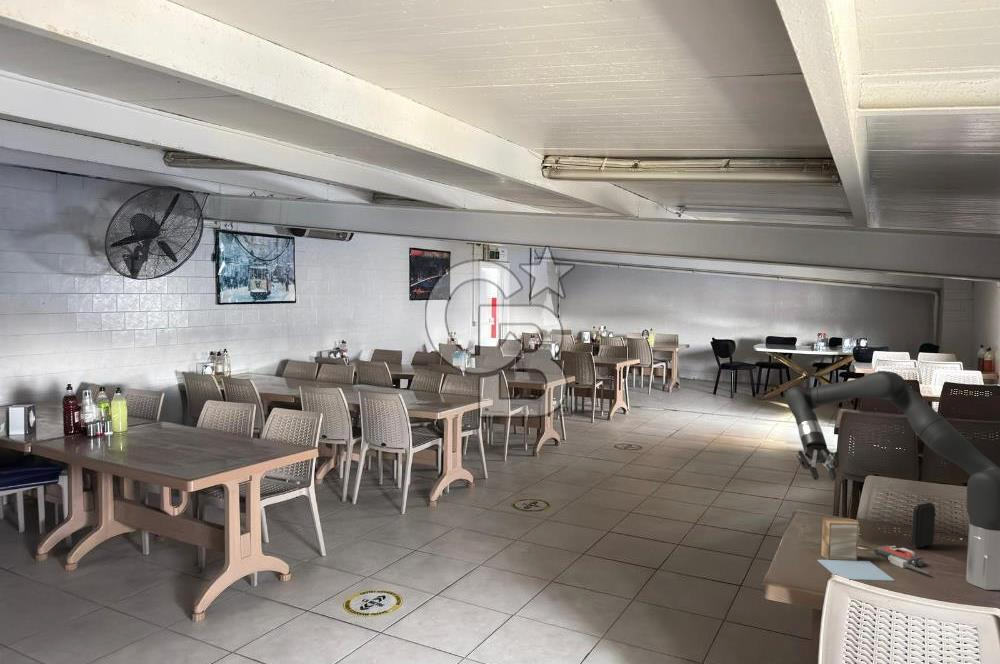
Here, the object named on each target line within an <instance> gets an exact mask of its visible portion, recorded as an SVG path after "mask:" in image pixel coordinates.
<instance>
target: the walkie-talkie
mask: <svg viewBox="0 0 1000 664" xmlns="http://www.w3.org/2000/svg"><path fill="white" fill-rule="evenodd" d="M873 553H874V554H876V555H877V556H878V557H880V556H881V557H880V558H882V557H883V559H885V558H886V559H885V560H887V559H888V561H889V562H890V564H892V565H894V566H897V567H899V568H902V569H911V570H913V571H916V572H918V573H922V574H926V575H928V576H930V575H931V572H930V571H928V570H924V569H923V568H919V567H922V566H923V565H924V560H923V557H921V556H919V555H917V554H916V552H915V551H913V550H911V549H907V548H905V547H898V548H897V546H896V545H889V544H888V545H881V546H878V547H877V549H874V550H873ZM915 566H916V567H915Z"/></svg>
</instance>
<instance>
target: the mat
mask: <svg viewBox="0 0 1000 664" xmlns="http://www.w3.org/2000/svg"><path fill="white" fill-rule="evenodd" d="M817 561H818V563H820V564H821V565H822V566H824V568H825V569H827V570H828V572H830V573H831V574H832V575H834V574H837V575H839V576H842V577H845V578H848V579H851V580H850V581H869V582H870V581H872V582H873V581H876V582H895V581H896V580H895V579H894V578H893V577H891V576H890V575H888V574H887V573H886V572H885V571H883V570H882V569H881V568H879V567H877V566H876V565H875V564H873V563H872V562H871V561H870V560H857V561H847V560H827V559H817Z"/></svg>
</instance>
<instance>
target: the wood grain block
mask: <svg viewBox="0 0 1000 664" xmlns="http://www.w3.org/2000/svg"><path fill="white" fill-rule="evenodd" d="M859 525H860V524H859V522H857V521H855V520H854V519H852V518H842V517H840V518H836V517H834V518H832V517H830V518H829V517H822V533H821V553H820V555H821V556H822V557H823V558H824V559H825V560H847V561H858V549H859V548H858V547H859Z"/></svg>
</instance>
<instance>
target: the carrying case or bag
mask: <svg viewBox="0 0 1000 664" xmlns="http://www.w3.org/2000/svg"><path fill="white" fill-rule="evenodd" d="M935 524H936V507H935V504H933V503H932V502H925V503H921V504H917V505H915V506H914V508H913V512H912V535H911V537H912V538H911V544H912V546H913V547H914V548H915V549H921V548H920V547H922V548H924V546H926V547H929V546H928V545H930V546H931V545H933V543H934V539H935V526H936V525H935ZM918 547H919V548H918Z"/></svg>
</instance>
